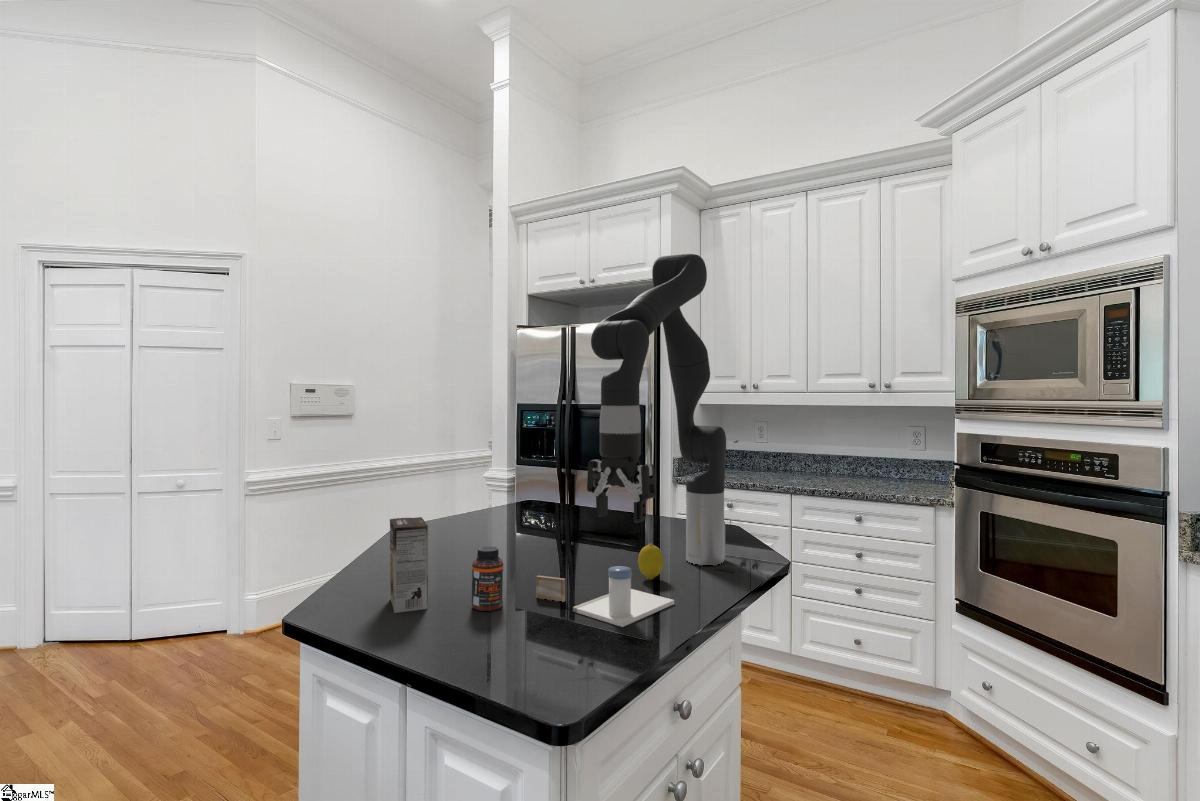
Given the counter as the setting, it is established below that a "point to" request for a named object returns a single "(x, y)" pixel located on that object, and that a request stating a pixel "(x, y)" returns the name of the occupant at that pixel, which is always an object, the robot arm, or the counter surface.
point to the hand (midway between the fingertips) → (620, 519)
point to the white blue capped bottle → (619, 591)
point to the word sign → (550, 588)
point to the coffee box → (408, 564)
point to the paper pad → (640, 607)
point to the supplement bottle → (487, 580)
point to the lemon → (650, 561)
